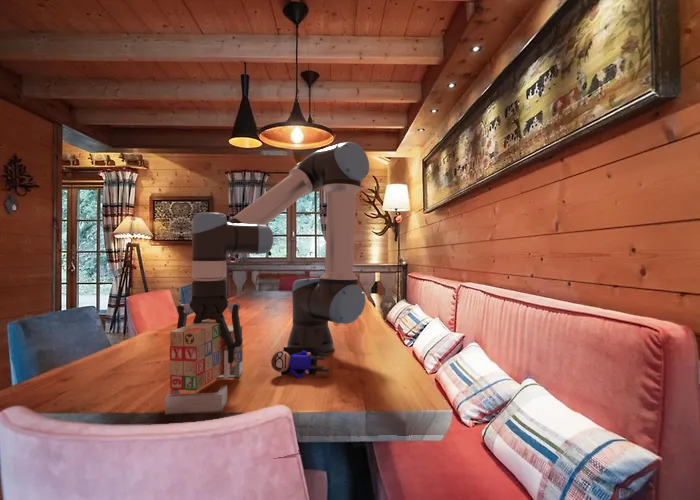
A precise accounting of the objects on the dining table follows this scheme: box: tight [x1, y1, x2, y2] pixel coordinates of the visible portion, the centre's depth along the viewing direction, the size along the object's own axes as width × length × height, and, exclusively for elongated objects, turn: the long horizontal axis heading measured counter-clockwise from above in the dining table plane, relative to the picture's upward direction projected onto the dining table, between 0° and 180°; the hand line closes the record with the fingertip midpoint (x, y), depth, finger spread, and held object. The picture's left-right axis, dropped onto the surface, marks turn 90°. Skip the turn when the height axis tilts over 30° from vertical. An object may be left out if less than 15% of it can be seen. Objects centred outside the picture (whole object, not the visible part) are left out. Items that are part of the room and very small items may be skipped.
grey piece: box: [216, 357, 244, 379], centre depth 100 cm, size 11×5×4 cm, turn 97°
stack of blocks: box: [169, 319, 244, 392], centre depth 90 cm, size 21×6×12 cm, turn 170°
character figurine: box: [270, 346, 330, 379], centre depth 100 cm, size 8×7×15 cm
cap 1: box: [164, 384, 228, 416], centre depth 79 cm, size 11×5×4 cm, turn 97°
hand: (209, 377), depth 89 cm, fingers closed on stack of blocks, 7 cm apart
